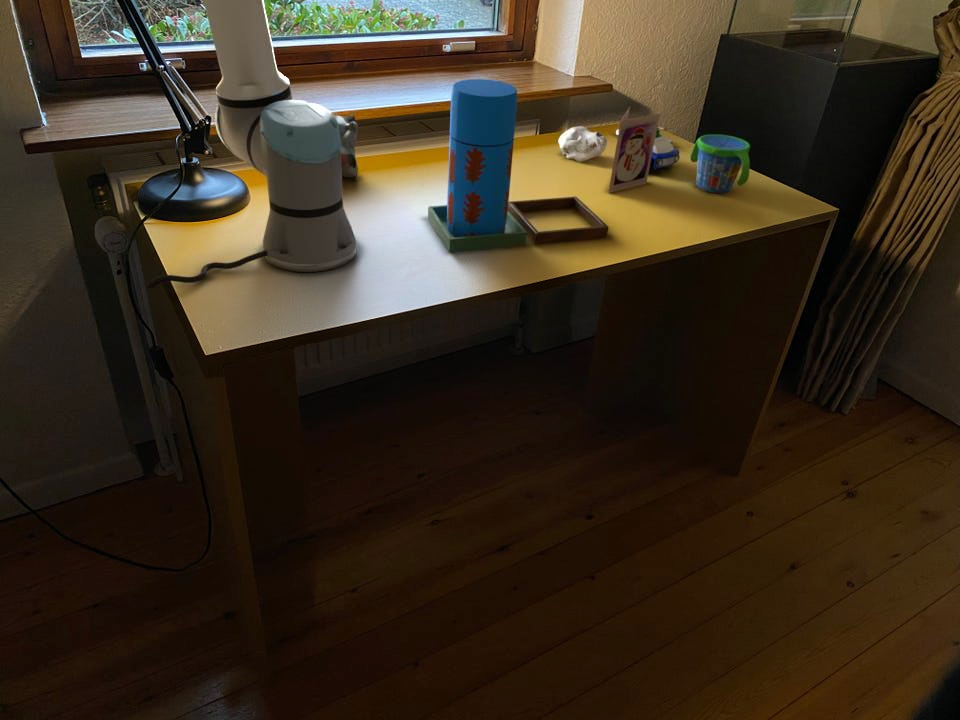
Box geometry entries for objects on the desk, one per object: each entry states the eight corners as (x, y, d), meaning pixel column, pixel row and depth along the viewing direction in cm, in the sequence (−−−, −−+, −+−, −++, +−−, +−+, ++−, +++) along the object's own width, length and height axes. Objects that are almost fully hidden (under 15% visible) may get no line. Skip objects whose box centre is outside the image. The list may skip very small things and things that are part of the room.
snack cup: (672, 176, 164) (682, 131, 158) (712, 173, 167) (723, 128, 161) (713, 204, 152) (725, 156, 146) (755, 199, 155) (769, 152, 149)
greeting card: (611, 194, 153) (623, 122, 144) (587, 182, 158) (597, 111, 149) (649, 184, 159) (663, 114, 150) (624, 173, 163) (636, 105, 155)
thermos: (499, 245, 129) (511, 100, 114) (440, 237, 130) (444, 92, 116) (510, 221, 137) (522, 83, 123) (454, 213, 139) (460, 76, 125)
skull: (569, 135, 175) (604, 110, 165) (583, 170, 175) (618, 146, 165) (546, 138, 170) (581, 112, 161) (560, 174, 170) (596, 150, 160)
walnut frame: (534, 244, 131) (536, 233, 130) (507, 212, 142) (508, 201, 141) (607, 237, 135) (609, 226, 134) (574, 206, 146) (576, 196, 145)
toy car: (654, 177, 162) (663, 135, 157) (613, 161, 170) (620, 120, 164) (680, 170, 167) (689, 128, 162) (639, 154, 175) (646, 114, 169)
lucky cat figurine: (278, 174, 150) (285, 105, 149) (327, 185, 159) (333, 120, 158) (322, 174, 141) (330, 99, 139) (371, 185, 150) (378, 116, 148)
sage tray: (449, 252, 126) (449, 239, 125) (427, 218, 137) (428, 206, 136) (525, 245, 131) (527, 232, 129) (499, 213, 141) (500, 200, 140)
